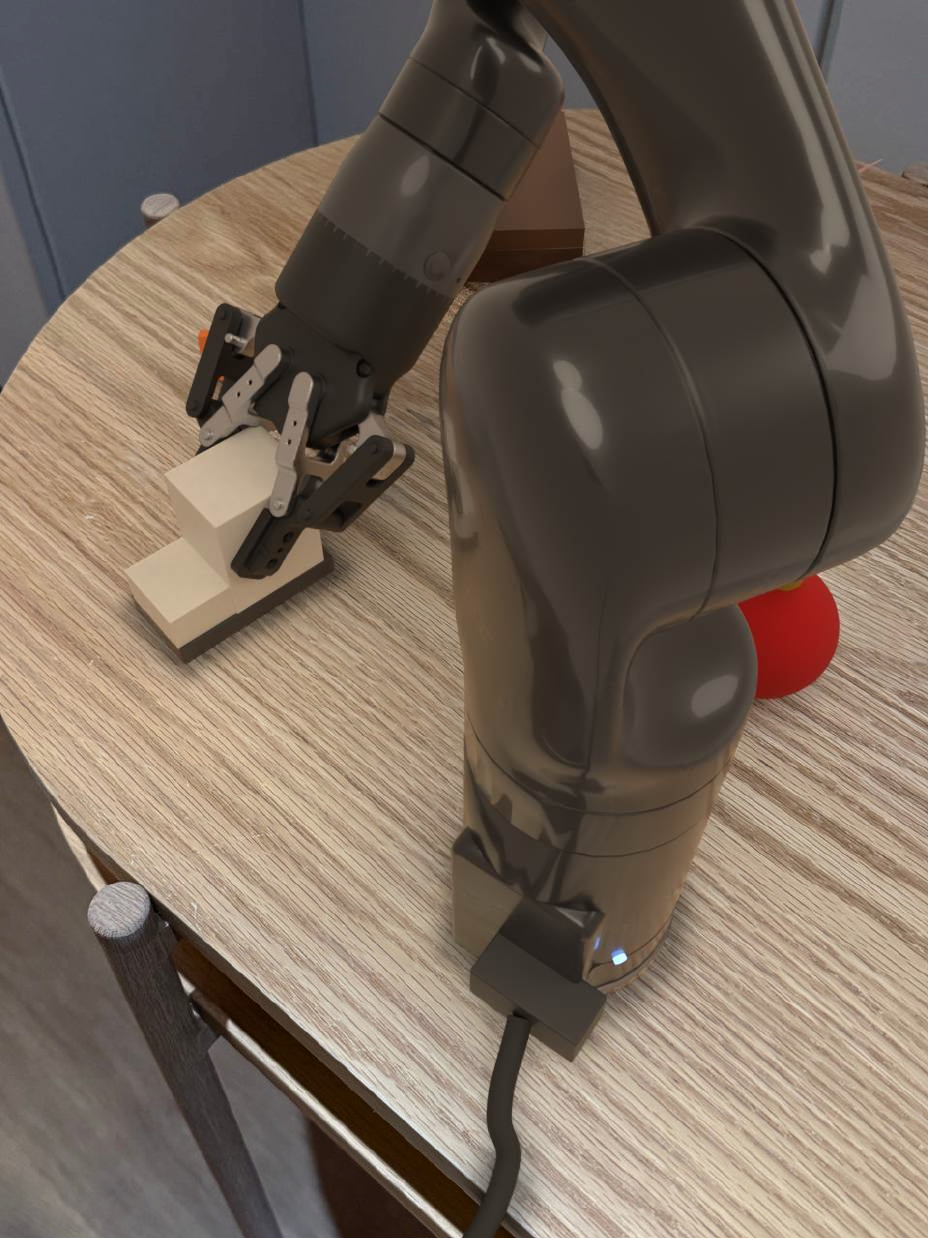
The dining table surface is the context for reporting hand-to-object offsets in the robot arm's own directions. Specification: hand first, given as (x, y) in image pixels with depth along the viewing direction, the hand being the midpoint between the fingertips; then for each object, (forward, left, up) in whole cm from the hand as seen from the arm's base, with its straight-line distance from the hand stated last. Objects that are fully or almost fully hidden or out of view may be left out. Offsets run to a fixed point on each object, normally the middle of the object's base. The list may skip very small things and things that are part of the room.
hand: (217, 542), depth 58 cm
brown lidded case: (+36, +8, -4) cm, 37 cm away
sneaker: (0, 0, -4) cm, 4 cm away
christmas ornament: (+12, -25, -4) cm, 28 cm away
